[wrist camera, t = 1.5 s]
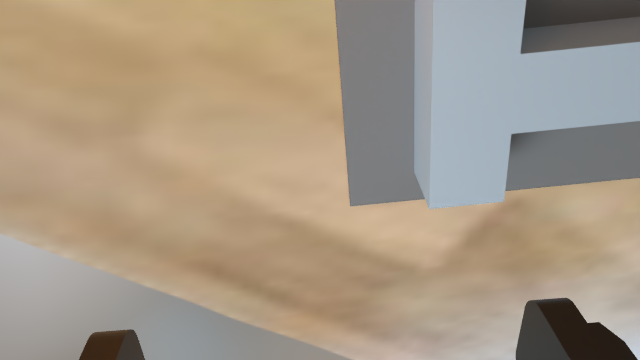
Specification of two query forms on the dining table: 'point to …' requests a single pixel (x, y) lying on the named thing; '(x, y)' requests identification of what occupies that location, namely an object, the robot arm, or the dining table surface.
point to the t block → (508, 89)
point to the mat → (398, 106)
